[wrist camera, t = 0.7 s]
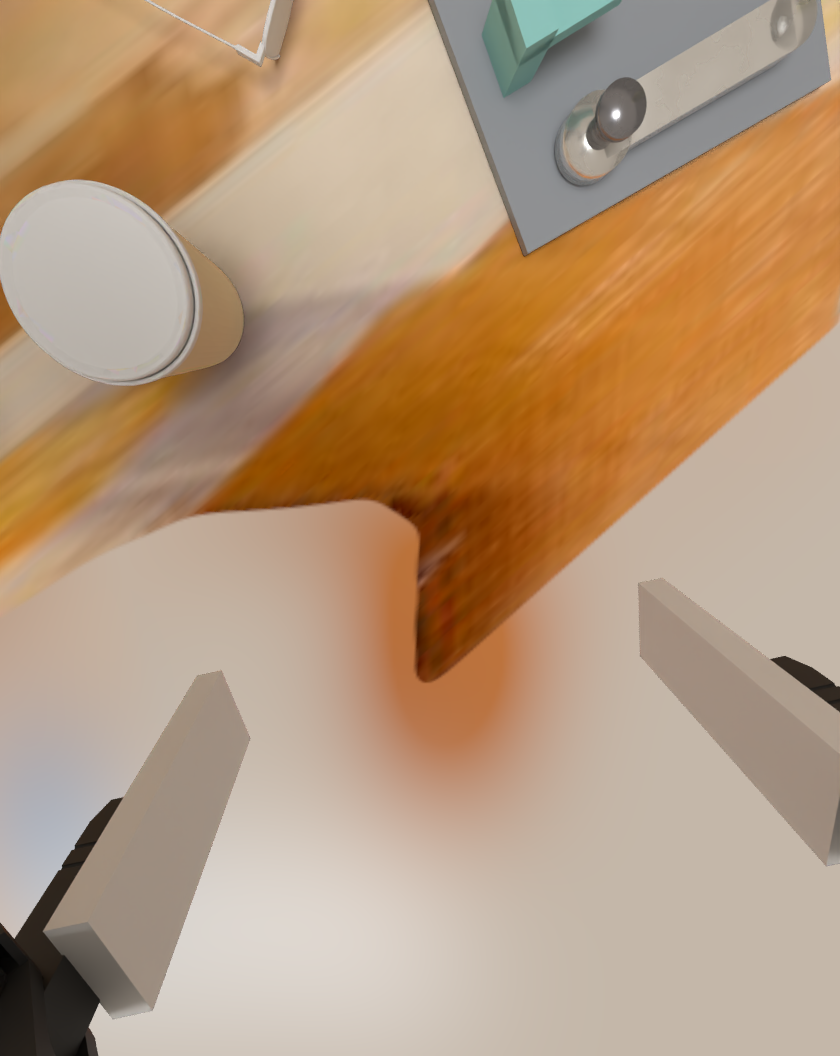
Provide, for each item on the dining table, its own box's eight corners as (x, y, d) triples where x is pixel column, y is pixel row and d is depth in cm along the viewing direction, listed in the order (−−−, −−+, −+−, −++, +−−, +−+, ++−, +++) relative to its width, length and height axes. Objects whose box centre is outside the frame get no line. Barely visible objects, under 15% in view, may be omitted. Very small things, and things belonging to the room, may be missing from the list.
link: (568, 198, 32) (600, 169, 27) (545, 128, 30) (575, 85, 25) (795, 66, 30) (871, 12, 25) (782, -14, 29) (861, -88, 24)
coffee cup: (114, 234, 31) (-36, 162, 20) (252, 246, 32) (182, 184, 21) (135, 375, 34) (15, 381, 23) (259, 382, 35) (203, 391, 24)
